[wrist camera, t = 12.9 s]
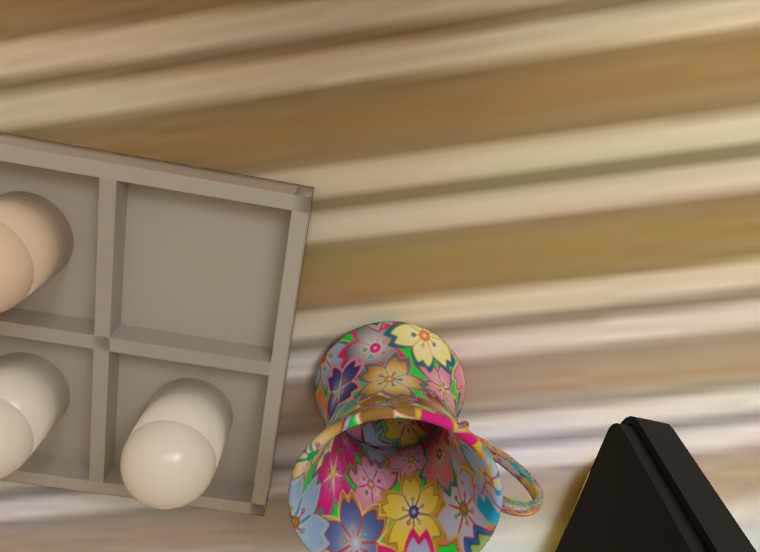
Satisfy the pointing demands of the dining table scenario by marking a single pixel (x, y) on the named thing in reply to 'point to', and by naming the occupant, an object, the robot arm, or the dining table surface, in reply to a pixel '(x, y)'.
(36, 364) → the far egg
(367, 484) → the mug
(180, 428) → the egg
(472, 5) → the dining table surface
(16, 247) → the egg
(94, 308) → the carton
